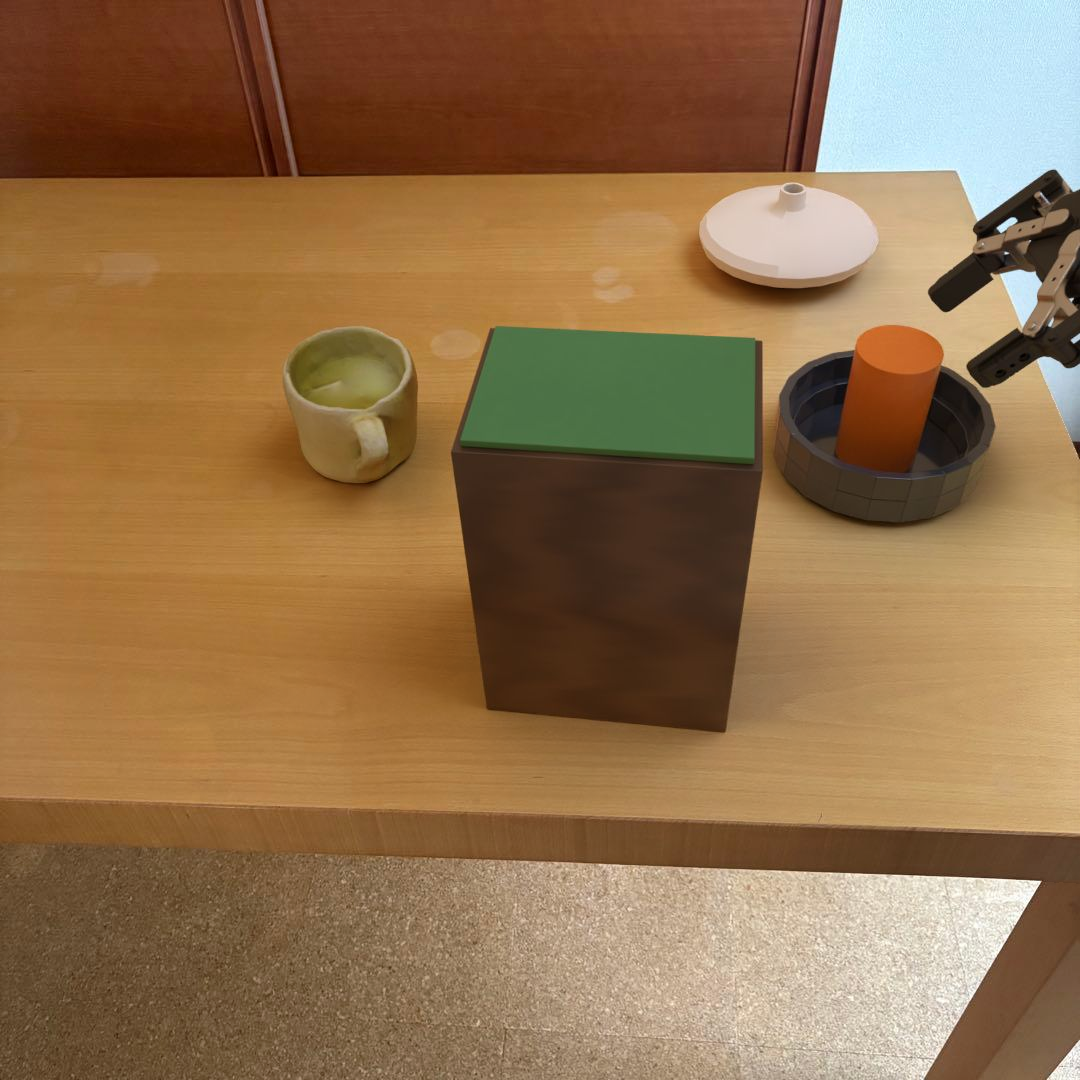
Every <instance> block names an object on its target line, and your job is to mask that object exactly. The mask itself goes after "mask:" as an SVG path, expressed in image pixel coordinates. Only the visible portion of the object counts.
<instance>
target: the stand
mask: <svg viewBox="0 0 1080 1080" xmlns="http://www.w3.org/2000/svg"><path fill="white" fill-rule="evenodd" d="M494 330H495V327H490V328H489V331H488V333H487V336H486V339H485V343H484V347H483V350H482V352H481V356H480V359H479V362H478V365H477V368H476V372H475V375H474V377H473V381H472V384H471V387H470V390H469V393H468V397H467V400H466V403H465V406H464V409H463V413H462V416H461V418H460V422H459V425H458V428H457V431H456V434H455V437H454V441H453V444H452V447H451V450H450V456H451V465H452V471H453V477H454V478H453V479H454V485H455V492H456V499H457V507H458V514H459V520H460V521H459V522H460V528H461V536H462V542H463V550H464V556H465V557H464V558H465V563H466V570H467V571H466V572H467V578H468V585H469V591H470V592H469V593H470V599H471V600H470V601H471V606H472V613H473V621H474V628H475V635H476V642H477V649H478V656H479V665H480V671H481V676H482V677H481V678H482V686H483V693H484V699H485V706H486V707H485V708H486V709H487V710H492V711H502V712H503V711H504V712H514V713H524V714H525V713H526V714H534V715H543V716H544V715H546V716H555V717H564V718H565V717H567V718H575V719H584V720H585V719H586V720H597V721H607V722H617V723H618V722H619V723H627V724H637V725H638V724H639V725H647V726H648V725H649V726H656V727H657V726H658V727H669V728H679V729H690V730H699V731H708V732H709V731H711V732H720V733H726V732H727V726H728V718H729V712H730V704H731V698H732V691H733V684H734V675H735V669H736V663H737V656H738V649H739V643H740V634H741V628H742V621H743V614H744V608H745V607H744V606H745V599H746V592H747V586H748V578H749V572H750V571H749V570H750V564H751V557H752V550H753V544H754V538H755V537H754V536H755V529H756V521H757V515H758V510H759V509H758V507H759V500H760V496H761V495H760V494H761V487H762V481H763V474H764V422H763V421H764V416H763V414H764V410H763V409H764V402H763V401H764V400H763V399H764V397H763V396H764V393H763V391H764V390H763V389H764V387H763V385H764V384H763V383H764V382H763V381H764V379H763V378H764V377H763V376H764V373H763V372H764V371H763V370H764V367H763V366H764V360H763V359H764V357H763V353H764V352H763V349H764V347H763V345H764V342H763V340H759V339H758V340H757V339H755V458H754V464H738V463H722V462H706V461H690V460H674V459H658V458H641V457H625V456H609V455H593V454H577V453H561V452H545V451H529V450H513V449H497V448H481V447H465V446H461V444H460V439H461V435H462V432H463V429H464V426H465V423H466V419H467V416H468V413H469V410H470V407H471V403H472V400H473V397H474V394H475V391H476V387H477V384H478V381H479V378H480V375H481V371H482V368H483V365H484V362H485V359H486V355H487V352H488V349H489V346H490V343H491V339H492V336H493V333H494Z"/></svg>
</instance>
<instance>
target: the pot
mask: <svg viewBox="0 0 1080 1080" xmlns="http://www.w3.org/2000/svg"><path fill="white" fill-rule="evenodd" d="M854 351H855V349H851V350H845V351H838V352H837V351H836V352H831V353H829V354H826V355H823V356H821V357H818V358H815V359H812V360H809V361H807V362H806V363H805V364H803V365H802V366H801V367H799V368H798V369H797V370H796V371H794V372H793V373H792V374H790V375H789V376H788V377H787V380H786V381H785V383H784V385H783V387H782V389H781V391H780V393H779V394H778V395H779V396H778V402H777V407H776V408H777V409H776V416H775V422H774V429H773V436H772V439H773V440H772V443H773V445H772V447H773V449H772V451H773V458H774V459H775V461H776V464H777V466H778V467H779V469H780V471H781V473H782V476H783V477H784V479H786V480H787V481H788V482H789V483H790V484H791V485H792V486H793V487H794V488H795V489H796V490H797V491H798V492H799V493H800V494H801V495H803V496H804V498H805V497H806V498H808V499H809V500H811V501H813V502H815V503H816V504H819V505H820V506H822V507H824V508H826V509H828V510H830V511H831V512H834V513H839V514H842V515H845V516H849V517H852V518H856V519H860V520H864V521H872V522H890V523H905V522H912V521H913V522H914V521H919V520H925V519H931V518H935V517H937V516H939V515H942V514H944V513H946V512H948V511H951V510H952V509H955V508H957V507H958V506H960V505H961V504H962V503H963V502H964V501H965V500H966V499H967V498H968V497H969V496H970V495H971V494H972V493H973V492H974V491H975V490H976V488H977V485H978V483H979V480H980V477H981V473H982V470H983V468H984V464H985V461H986V458H987V457H988V453H989V450H990V447H991V443H992V440H993V437H994V433H995V430H996V423H995V422H996V421H995V418H994V414H993V410H992V406H991V404H990V403H989V401H988V400H987V399H986V398H985V396H984V395H983V394H982V392H981V391H980V390H979V389H978V387H977V386H976V385H975V384H973V383H972V382H971V381H969V380H968V379H966V378H965V377H964V376H962V375H960V374H959V373H958V372H956V371H955V370H953V369H951V368H949V367H948V366H945V365H943V364H941V368H940V372H939V375H938V379H937V382H936V386H935V390H934V393H933V397H932V400H931V404H930V408H929V411H928V415H927V418H926V422H925V426H924V429H923V433H922V436H921V440H920V444H919V447H918V451H917V454H916V458H915V461H914V464H913V465H912V467H911V468H910V469H909V470H908V471H906V472H905V473H900V472H884V471H875V470H871V469H867V468H864V467H860V466H856V465H852V464H849V463H845V462H843V461H841V460H839V459H838V457H837V455H836V452H835V445H836V440H837V435H838V430H839V425H840V420H841V415H842V410H843V405H844V400H845V395H846V391H847V386H848V381H849V376H850V371H851V366H852V361H853V356H854Z"/></svg>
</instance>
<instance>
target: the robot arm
mask: <svg viewBox="0 0 1080 1080" xmlns="http://www.w3.org/2000/svg"><path fill="white" fill-rule="evenodd" d="M1010 219H1015V220H1016V222H1015V223H1013V224H1011V225H1009V226H1007V228H1006V229H1005V230H1004V231H1002V232H1001V231H1000V230H999V229H998V228H999V227H1000V226H1001V225H1002V224H1004V223H1005V222H1007V221H1008V220H1010ZM972 232H973V233H974V234H975V236H976V243H975V244H974V245H973V247H972V252H971V253H970V254H969V255H968V256H967V257H965V258H964V259H963V260H961V261H960V262H959V263H957V264H956V265H955V266H953V267H952V269H949V270H948V271H947V272H946V273H944V274H942V276H940V277H939V278H938V279H937V280H936V281H935V282H934V283H933V284H932V285H931V286H930V287H929V288H928V289H927V294H928V296H929V298H930V300H931V301H932V303H934V304H935V306H936V307H937V308H938V309H939V310H940V311H941V312H943V313H949V312H951V311H953V310H954V309H956V308H957V307H958V306H960V305H961V304H962V303H964V302H965V301H967V300H968V299H969V298H971V297H972V296H973V295H975V294H976V293H977V292H979V291H980V290H981V289H983V288H984V287H985V286H987V285H988V284H990V283H991V282H992V281H994V280H995V279H994V277H993V276H992V275H995V276H997V275H1001V274H1006V273H1010V272H1015V271H1023V272H1026V273H1035V275H1036V277H1037V278H1038V280H1039V281H1040V283H1041V285H1040V287H1039V288H1038V290H1037V292H1036V300H1037V302H1036V305H1035V306H1034V309H1033V310H1032V312H1031V313H1030V315H1029V317H1028V318H1027V320H1026V322H1025V323H1024V325H1023V327H1022V329H1021V330H1020V329H1019V328H1018V327H1015V328H1014V329H1013V330H1011V331H1010V332H1008V333H1007V334H1005V335H1004V336H1002V337H1001V338H1000V339H998V340H997V341H995V342H994V343H993V344H991V345H990V346H988V347H987V348H986V349H984V350H983V351H981V352H980V353H978V354H977V355H976V356H973V358H971V359H970V360H968V362H967V363H966V365H965V366H966V367H965V369H966V370H967V372H968V374H969V376H970V377H971V378H972V379H973V380H974V381H975V382H976V383H977V384H978V385H979V386H980V387H981V388H984V389H989V388H991V387H995V386H998V385H1000V384H1002V383H1004V382H1006V381H1007V380H1008V379H1010V378H1011V377H1013V376H1014V375H1016V373H1019V372H1021V371H1022V370H1023V369H1025V368H1027V367H1028V366H1029V365H1032V363H1033V362H1035V361H1037V360H1038V359H1041V358H1044V357H1045V358H1051V359H1053V360H1055V361H1056V362H1058V363H1060V364H1061V365H1062V366H1063V367H1064V368H1065V369H1073V368H1075V367H1077V366H1078V365H1080V338H1079V339H1078V340H1077V341H1074V342H1073V339H1074V338H1076V337H1077V336H1078V335H1080V188H1079V189H1077V190H1074V191H1073V189H1072V187H1070V185H1069V184H1068V183H1067V182H1066V180H1065V179H1064V178H1063V177H1062V175H1061V174H1060V173H1059V171H1058V170H1057V169H1055V168H1053V169H1049V170H1047V171H1045V172H1044V173H1043V174H1041V175H1039V176H1038V177H1037V178H1036V179H1034V180H1033V181H1032V182H1030V183H1029V184H1027V185H1026V186H1024V187H1023V188H1022V189H1020V190H1019V191H1018V192H1016V193H1015V194H1014V195H1012V196H1011V197H1010V198H1008V199H1007V200H1005V201H1003V202H1002V203H1001V204H999V206H997V207H996V208H994V209H993V210H991V211H990V212H989V213H988V214H986V215H985V216H983V217H982V218H980V219H979V220H978V221H977V222H976V223H974V225H973V227H972ZM1005 253H1006V254H1005ZM1070 299H1071V300H1072V301H1071V300H1070ZM1052 320H1053V321H1052ZM1051 321H1052V323H1051ZM1050 323H1051V325H1050ZM1049 325H1050V326H1049Z"/></svg>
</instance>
